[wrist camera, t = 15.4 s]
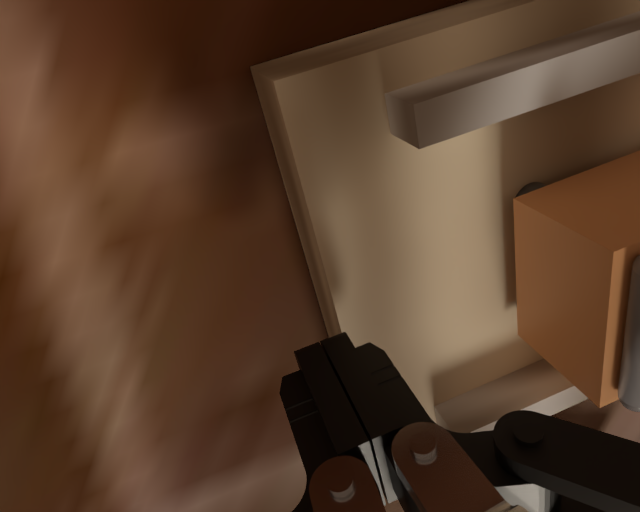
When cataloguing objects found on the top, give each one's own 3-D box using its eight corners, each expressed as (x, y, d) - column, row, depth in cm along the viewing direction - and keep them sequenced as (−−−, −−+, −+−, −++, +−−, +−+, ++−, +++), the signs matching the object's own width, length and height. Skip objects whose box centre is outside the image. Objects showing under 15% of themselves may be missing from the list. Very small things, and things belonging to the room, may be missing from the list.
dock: (350, 411, 20) (410, 532, 16) (249, 66, 13) (304, 100, 9) (647, 285, 22) (777, 358, 18) (699, -69, 15) (938, -101, 11)
